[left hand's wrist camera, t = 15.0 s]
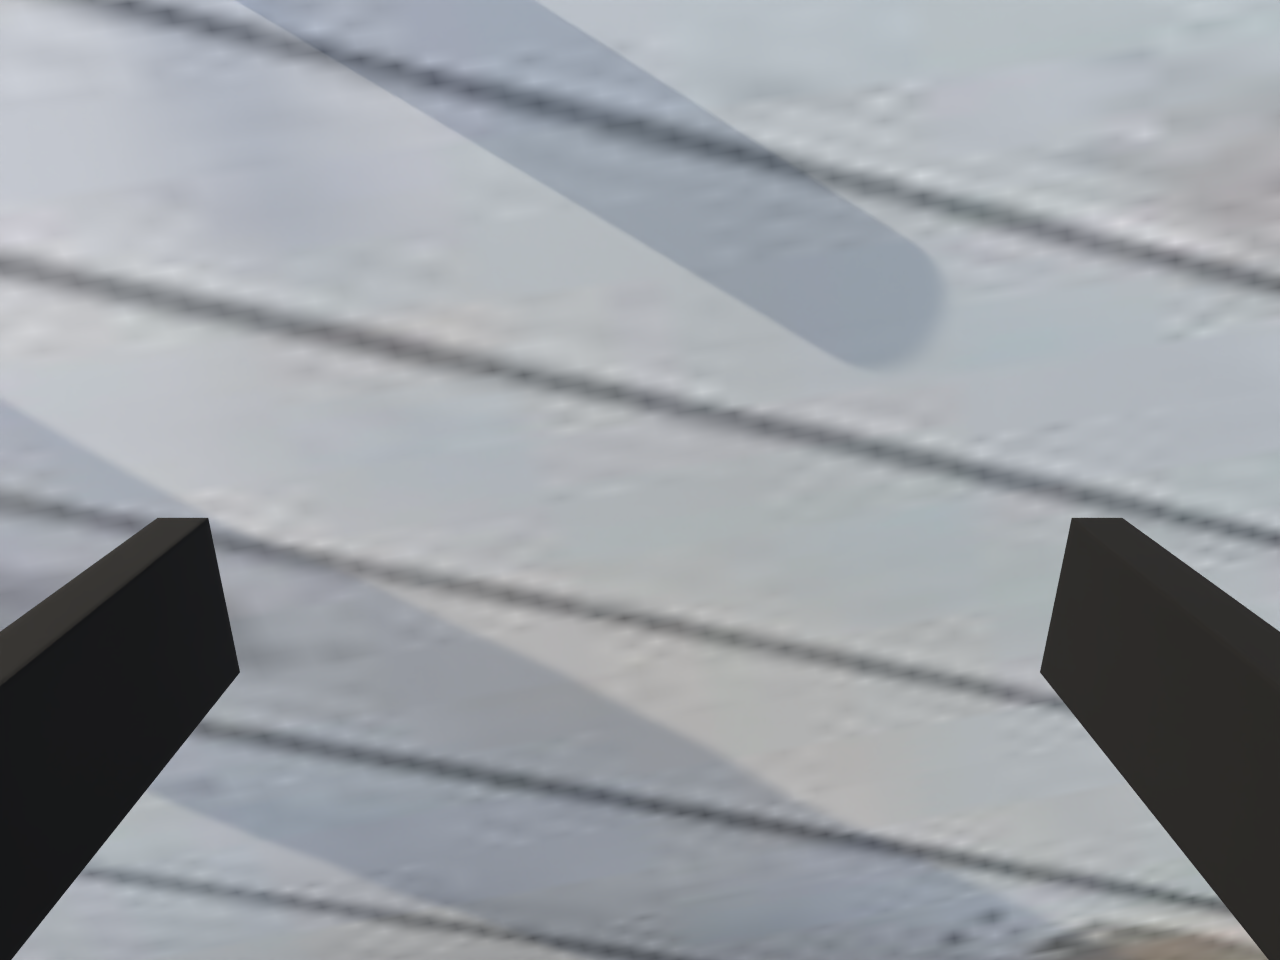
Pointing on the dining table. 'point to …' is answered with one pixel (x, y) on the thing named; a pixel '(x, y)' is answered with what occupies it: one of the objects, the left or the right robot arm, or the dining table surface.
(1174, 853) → the dining table surface
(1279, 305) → the dining table surface
